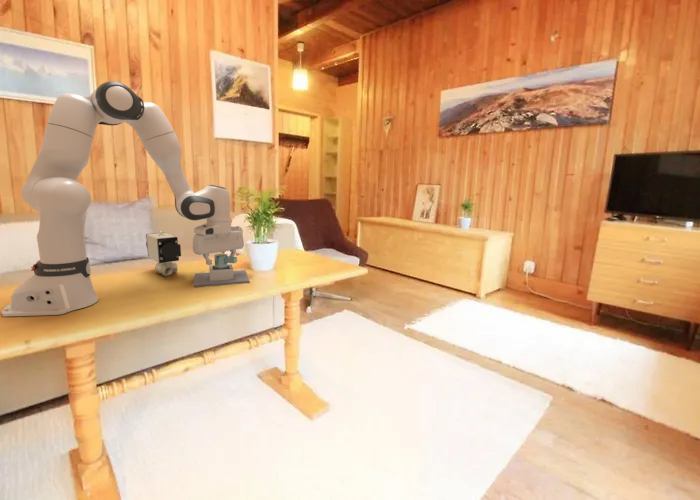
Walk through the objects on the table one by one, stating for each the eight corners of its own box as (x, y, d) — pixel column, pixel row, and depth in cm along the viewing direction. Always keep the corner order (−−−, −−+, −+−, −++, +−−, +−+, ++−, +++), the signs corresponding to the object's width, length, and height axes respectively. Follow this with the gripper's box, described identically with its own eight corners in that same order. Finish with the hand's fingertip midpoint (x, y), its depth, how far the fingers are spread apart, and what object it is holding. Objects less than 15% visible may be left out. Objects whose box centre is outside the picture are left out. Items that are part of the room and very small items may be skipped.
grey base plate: (193, 287, 131) (192, 274, 130) (194, 275, 145) (194, 263, 144) (249, 282, 138) (249, 270, 137) (245, 271, 153) (245, 261, 152)
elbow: (212, 278, 139) (211, 255, 138) (219, 275, 144) (218, 253, 142) (232, 280, 138) (232, 257, 136) (239, 276, 142) (238, 255, 140)
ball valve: (185, 276, 143) (182, 233, 139) (162, 280, 137) (159, 235, 133) (168, 267, 155) (166, 227, 151) (147, 270, 149) (143, 229, 145)
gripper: (237, 224, 147) (238, 257, 150) (189, 229, 131) (191, 265, 134) (246, 226, 143) (247, 259, 146) (198, 231, 127) (200, 268, 130)
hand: (220, 262), depth 140 cm, fingers open, 8 cm apart
